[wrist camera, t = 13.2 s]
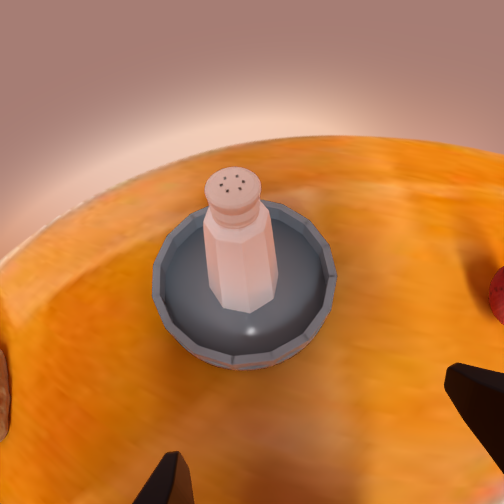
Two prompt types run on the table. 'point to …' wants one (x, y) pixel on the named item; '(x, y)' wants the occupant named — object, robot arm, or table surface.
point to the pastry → (4, 397)
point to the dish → (236, 322)
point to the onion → (497, 295)
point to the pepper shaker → (239, 241)
